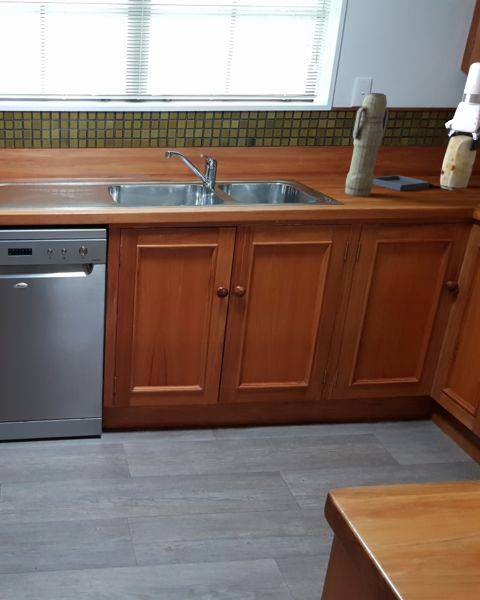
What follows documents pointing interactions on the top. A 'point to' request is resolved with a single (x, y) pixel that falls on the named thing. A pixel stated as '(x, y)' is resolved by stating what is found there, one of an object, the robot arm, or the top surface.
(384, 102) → the thermos
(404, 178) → the tray
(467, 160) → the food model
